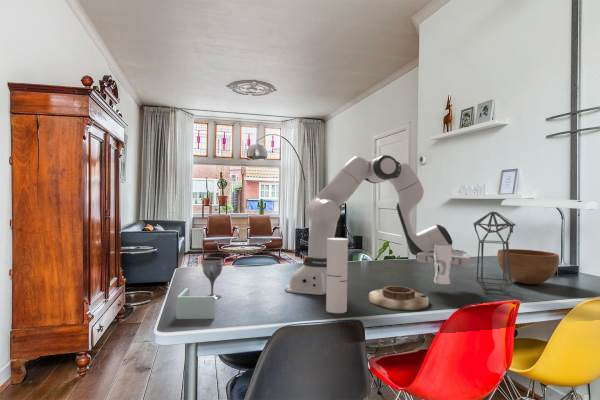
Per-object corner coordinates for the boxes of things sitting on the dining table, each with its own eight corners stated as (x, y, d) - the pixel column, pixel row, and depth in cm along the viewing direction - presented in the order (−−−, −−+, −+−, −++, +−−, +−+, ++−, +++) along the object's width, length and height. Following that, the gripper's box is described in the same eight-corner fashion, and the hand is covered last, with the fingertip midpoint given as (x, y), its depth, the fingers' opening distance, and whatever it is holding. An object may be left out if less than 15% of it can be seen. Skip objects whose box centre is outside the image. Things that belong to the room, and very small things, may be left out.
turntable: (372, 308, 125) (373, 296, 125) (365, 292, 147) (366, 282, 147) (436, 311, 124) (436, 298, 124) (419, 294, 146) (420, 283, 146)
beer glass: (453, 285, 134) (454, 246, 134) (434, 284, 136) (435, 245, 136) (449, 281, 141) (450, 243, 141) (431, 280, 142) (432, 243, 142)
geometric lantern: (474, 293, 150) (473, 211, 151) (473, 286, 164) (473, 211, 165) (517, 298, 143) (516, 211, 144) (512, 290, 157) (512, 211, 158)
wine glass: (203, 301, 132) (204, 261, 133) (199, 295, 140) (200, 257, 140) (224, 298, 136) (225, 259, 136) (219, 293, 143) (220, 256, 143)
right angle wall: (214, 320, 113) (215, 296, 113) (176, 320, 112) (176, 297, 112) (220, 309, 125) (220, 287, 125) (185, 309, 124) (185, 287, 124)
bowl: (556, 282, 174) (557, 251, 174) (561, 292, 153) (561, 258, 153) (498, 276, 188) (498, 247, 188) (495, 285, 167) (495, 253, 167)
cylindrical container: (324, 307, 127) (325, 237, 127) (344, 307, 127) (345, 237, 127) (327, 313, 120) (329, 239, 120) (348, 313, 120) (349, 240, 120)
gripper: (418, 247, 154) (414, 251, 142) (470, 251, 146) (471, 256, 133) (418, 262, 154) (414, 267, 142) (469, 267, 146) (470, 272, 133)
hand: (442, 261), depth 137 cm, fingers closed on beer glass, 6 cm apart
